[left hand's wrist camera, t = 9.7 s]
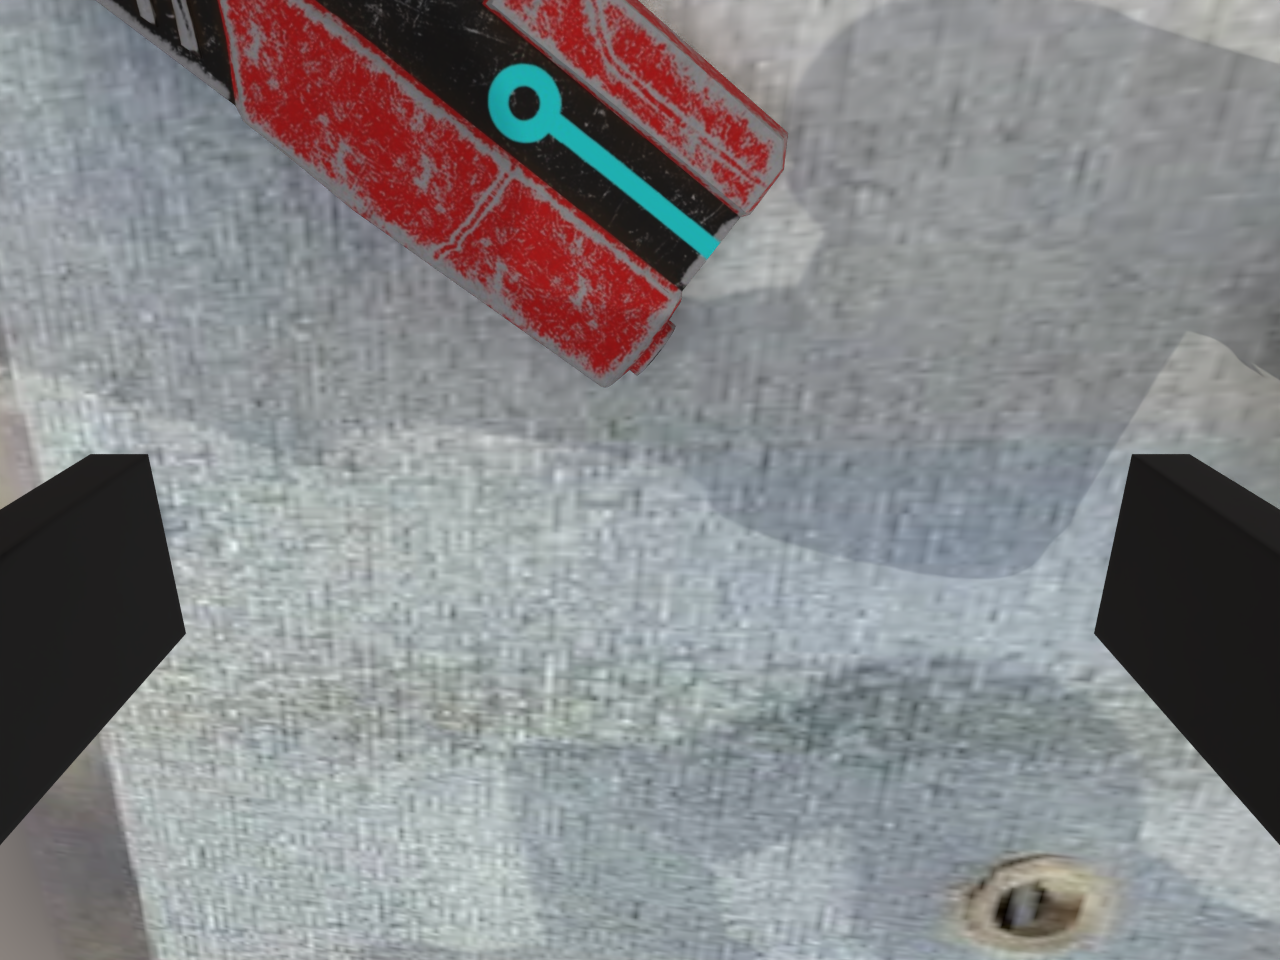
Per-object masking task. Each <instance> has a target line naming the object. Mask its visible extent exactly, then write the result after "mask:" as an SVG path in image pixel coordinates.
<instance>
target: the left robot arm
mask: <svg viewBox="0 0 1280 960" xmlns="http://www.w3.org/2000/svg"><path fill="white" fill-rule="evenodd" d="M185 634H186V632H185V627H184V622H183V618H182V613H181V608H180V603H179V599H178V594H177V589H176V584H175V580H174V575H173V570H172V566H171V561H170V556H169V551H168V547H167V542H166V537H165V533H164V528H163V523H162V518H161V514H160V509H159V504H158V499H157V495H156V490H155V485H154V481H153V476H152V471H151V466H150V462H149V457H148V454H90V455H88V456H87V457H85V458H84V459H82V460H80V461H79V462H77V463H75V464H74V465H72V466H71V467H69V468H67V469H66V470H64V471H62V472H61V473H59V474H58V475H56V476H54V477H53V478H51V479H49V480H48V481H46V482H45V483H43V484H41V485H40V486H38V487H36V488H35V489H33V490H32V491H30V492H28V493H27V494H25V495H23V496H22V497H20V498H19V499H17V500H15V501H14V502H12V503H10V504H9V505H7V506H6V507H4V508H2V509H1V510H0V845H1V843H2V842H3V841H4V840H5V839H6V838H7V837H8V835H9V834H10V833H11V832H12V831H13V830H14V829H15V828H16V826H17V825H18V824H19V823H20V822H21V821H22V820H23V818H24V817H25V816H26V815H27V814H28V813H29V812H30V810H31V809H32V808H33V807H34V806H35V805H36V804H37V802H38V801H39V800H40V799H41V798H42V797H43V796H44V795H45V793H46V792H47V791H48V790H49V789H50V788H51V787H52V785H53V784H54V783H55V782H56V781H57V780H58V779H59V777H60V776H61V775H62V774H63V773H64V772H65V771H66V769H67V768H68V767H69V766H70V765H71V764H72V763H73V761H74V760H75V759H76V758H77V757H78V756H79V755H80V754H81V752H82V751H83V750H84V749H85V748H86V747H87V746H88V744H89V743H90V742H91V741H92V740H93V739H94V738H95V736H96V735H97V734H98V733H99V732H100V731H101V730H102V728H103V727H104V726H105V725H106V724H107V723H108V722H109V720H110V719H111V718H112V717H113V716H114V715H115V714H116V713H117V711H118V710H119V709H120V708H121V707H122V706H123V705H124V703H125V702H126V701H127V700H128V699H129V698H130V697H131V695H132V694H133V693H134V692H135V691H136V690H137V689H138V687H139V686H140V685H141V684H142V683H143V682H144V681H145V679H146V678H147V677H148V676H149V675H150V674H151V673H152V672H153V670H154V669H155V668H156V667H157V666H158V665H159V664H160V662H161V661H162V660H163V659H164V658H165V657H166V656H167V654H168V653H169V652H170V651H171V650H172V649H173V648H174V646H175V645H176V644H177V643H178V642H179V641H180V640H181V639H182V637H183V636H184V635H185ZM1094 634H1095V635H1096V636H1097V637H1098V639H1099V640H1100V641H1101V642H1102V643H1103V644H1104V645H1105V646H1106V648H1107V649H1108V650H1109V651H1110V652H1111V653H1112V654H1113V656H1114V657H1115V658H1116V659H1117V660H1118V661H1119V662H1120V664H1121V665H1122V666H1123V667H1124V668H1125V669H1126V670H1127V672H1128V673H1129V674H1130V675H1131V676H1132V677H1133V678H1134V679H1135V681H1136V682H1137V683H1138V684H1139V685H1140V686H1141V687H1142V689H1143V690H1144V691H1145V692H1146V693H1147V694H1148V695H1149V697H1150V698H1151V699H1152V700H1153V701H1154V702H1155V703H1156V705H1157V706H1158V707H1159V708H1160V709H1161V710H1162V711H1163V713H1164V714H1165V715H1166V716H1167V717H1168V718H1169V719H1170V720H1171V722H1172V723H1173V724H1174V725H1175V726H1176V727H1177V728H1178V730H1179V731H1180V732H1181V733H1182V734H1183V735H1184V736H1185V738H1186V739H1187V740H1188V741H1189V742H1190V743H1191V744H1192V746H1193V747H1194V748H1195V749H1196V750H1197V751H1198V752H1199V754H1200V755H1201V756H1202V757H1203V758H1204V759H1205V760H1206V761H1207V763H1208V764H1209V765H1210V766H1211V767H1212V768H1213V769H1214V771H1215V772H1216V773H1217V774H1218V775H1219V776H1220V777H1221V779H1222V780H1223V781H1224V782H1225V783H1226V784H1227V785H1228V787H1229V788H1230V789H1231V790H1232V791H1233V792H1234V793H1235V795H1236V796H1237V797H1238V798H1239V799H1240V800H1241V801H1242V802H1243V804H1244V805H1245V806H1246V807H1247V808H1248V809H1249V810H1250V812H1251V813H1252V814H1253V815H1254V816H1255V817H1256V818H1257V820H1258V821H1259V822H1260V823H1261V824H1262V825H1263V826H1264V828H1265V829H1266V830H1267V831H1268V832H1269V833H1270V834H1271V836H1272V837H1273V838H1274V839H1275V840H1276V841H1277V842H1278V843H1279V845H1280V510H1279V509H1278V508H1276V507H1274V506H1273V505H1271V504H1270V503H1268V502H1266V501H1265V500H1263V499H1261V498H1260V497H1258V496H1257V495H1255V494H1253V493H1252V492H1250V491H1248V490H1247V489H1245V488H1244V487H1242V486H1240V485H1239V484H1237V483H1235V482H1234V481H1232V480H1231V479H1229V478H1227V477H1226V476H1224V475H1222V474H1221V473H1219V472H1218V471H1216V470H1214V469H1213V468H1211V467H1209V466H1208V465H1206V464H1205V463H1203V462H1201V461H1200V460H1198V459H1196V458H1195V457H1193V456H1192V455H1190V454H1132V457H1131V462H1130V466H1129V471H1128V476H1127V481H1126V485H1125V490H1124V495H1123V499H1122V504H1121V509H1120V514H1119V518H1118V523H1117V528H1116V533H1115V537H1114V542H1113V547H1112V551H1111V556H1110V561H1109V566H1108V570H1107V575H1106V580H1105V584H1104V589H1103V594H1102V599H1101V603H1100V608H1099V613H1098V617H1097V622H1096V627H1095V632H1094Z"/></svg>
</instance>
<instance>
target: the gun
mask: <svg viewBox="0 0 1280 960" xmlns="http://www.w3.org/2000/svg"><path fill="white" fill-rule="evenodd" d="M96 1H97V2H98V3H100V4H101V5H102V6H104V7H105V8H106V9H108V10H109V11H110V12H112V13H113V14H114V15H116V16H117V17H118V18H120V19H121V20H122V21H124V22H125V23H126V24H128V25H129V26H130V27H132V28H133V29H134V30H136V31H137V32H138V33H140V34H141V35H142V36H144V37H145V38H146V39H148V40H149V41H150V42H152V43H153V44H154V45H156V46H157V47H158V48H160V49H161V50H162V51H164V52H165V53H166V54H168V55H169V56H170V57H172V58H173V59H174V60H176V61H177V62H178V63H180V64H181V65H182V66H184V67H185V68H186V69H188V70H189V71H190V72H192V73H193V74H194V75H196V76H197V77H198V78H200V79H201V80H202V81H204V82H205V83H206V84H208V85H209V86H210V87H212V88H213V89H214V90H216V91H217V92H218V93H219V94H221V95H222V96H223V97H225V98H226V99H227V100H229V101H230V102H231V103H233V104H234V105H235V106H236V107H237V109H238V111H239V113H240V115H241V117H242V119H243V121H244V122H245V123H246V124H247V125H249V126H250V127H251V128H253V129H254V130H255V131H256V132H258V133H259V134H260V135H261V136H263V137H264V138H265V139H267V140H268V141H269V142H270V143H272V144H273V145H274V146H276V147H277V148H278V149H279V150H281V151H282V152H283V153H284V154H286V155H287V156H288V157H289V158H291V159H292V160H293V161H294V162H295V163H297V164H298V165H299V166H300V167H302V168H303V169H304V170H305V171H306V172H308V173H309V174H310V175H311V176H312V177H314V178H315V179H316V180H317V181H319V182H320V183H321V184H322V185H323V186H325V187H326V188H327V189H328V190H329V191H331V192H332V193H333V194H334V195H335V196H337V197H338V198H339V199H340V200H341V201H343V202H344V203H345V204H346V205H347V206H349V207H350V208H351V209H352V210H354V211H355V212H357V213H358V214H359V215H361V216H362V217H364V218H365V219H366V220H368V221H369V222H371V223H372V224H373V225H375V226H376V227H378V228H379V229H380V230H382V231H383V232H385V233H386V234H387V235H389V236H390V237H392V238H393V239H395V240H396V241H397V242H399V243H400V244H402V245H403V246H404V247H406V248H407V249H409V250H410V251H411V252H413V253H414V254H416V255H417V256H418V257H420V258H421V259H423V260H424V261H425V262H427V263H428V264H430V265H431V266H433V267H434V268H435V269H437V270H438V271H440V272H441V273H442V274H444V275H445V276H447V277H448V278H449V279H451V280H452V281H454V282H455V283H456V284H458V285H459V286H461V287H462V288H463V289H465V290H466V291H468V292H469V293H471V294H472V295H473V296H475V297H476V298H478V299H479V300H480V301H482V302H483V303H485V304H486V305H487V306H489V307H490V308H492V309H493V310H494V311H496V312H497V313H499V314H500V315H502V316H503V317H504V318H506V319H507V320H509V321H510V322H511V323H513V324H514V325H516V326H517V327H518V328H520V329H521V330H523V331H524V332H525V333H527V334H528V335H530V336H531V337H532V338H534V339H535V340H537V341H538V342H540V343H541V344H542V345H544V346H545V347H547V348H548V349H549V350H551V351H552V352H554V353H555V354H556V355H558V356H559V357H561V358H562V359H563V360H565V361H566V362H568V363H569V364H570V365H572V366H573V367H575V368H576V369H578V370H579V371H580V372H582V373H583V374H585V375H586V376H587V377H589V378H590V379H592V380H593V381H594V382H596V383H597V384H599V385H600V386H602V387H609V386H610V385H612V384H613V383H614V382H616V381H617V380H618V379H619V378H620V377H622V376H623V375H624V374H625V373H626V372H628V371H629V370H631V371H632V372H633V373H634V374H635V375H638V374H640V373H641V372H642V371H643V370H644V369H645V368H646V367H647V366H648V365H649V364H650V363H651V362H652V361H653V359H654V358H655V357H656V356H657V354H658V353H659V352H660V351H661V349H662V348H663V347H664V345H665V344H666V342H667V341H668V339H669V338H670V336H671V335H672V333H673V331H674V329H675V325H674V324H673V323H672V322H671V321H669V319H670V318H671V316H672V314H673V313H674V311H675V310H676V308H677V307H678V305H679V304H680V302H681V298H682V291H683V289H684V288H685V287H686V285H687V284H688V283H689V282H690V280H691V279H692V278H693V277H694V275H695V274H696V273H697V272H698V270H699V269H700V268H701V266H702V265H703V264H704V263H705V261H706V260H707V259H708V258H709V256H710V255H711V254H712V253H713V251H714V250H715V249H716V247H717V246H718V245H719V244H720V242H721V241H722V240H723V239H724V237H725V236H726V235H727V233H728V232H729V231H730V230H731V228H732V227H733V226H734V225H735V223H736V222H737V221H738V220H739V218H740V217H742V216H746V215H750V214H751V213H752V211H753V210H754V209H755V207H756V206H757V205H758V203H759V202H760V201H761V199H762V198H763V197H764V195H765V194H766V193H767V191H768V190H769V189H770V187H771V186H772V185H773V183H774V182H775V181H776V179H777V178H778V177H779V175H780V174H781V173H782V172H783V170H784V164H785V155H786V146H787V138H788V132H786V131H785V130H784V129H783V128H782V127H781V126H780V125H778V124H777V123H776V122H775V121H774V120H773V119H772V118H771V117H769V116H768V115H767V114H766V113H765V112H764V111H763V110H762V109H760V108H759V107H758V106H757V105H756V104H755V103H754V102H752V101H751V100H750V99H749V98H748V97H747V96H746V95H745V94H743V93H742V92H741V91H740V90H739V89H738V88H737V87H735V86H734V85H733V84H732V83H731V82H730V81H729V80H728V79H726V78H725V77H724V76H723V75H722V74H721V73H720V72H718V71H717V70H716V69H715V68H714V67H713V66H712V65H711V64H709V63H708V62H707V61H706V60H705V59H704V58H703V57H701V56H700V55H699V54H698V53H697V52H696V51H695V50H694V49H692V48H691V47H690V46H689V45H688V44H687V43H686V42H684V41H683V40H682V39H681V38H680V37H679V36H678V35H677V34H675V33H674V32H673V31H672V30H671V29H670V28H669V27H667V26H666V25H665V24H664V23H663V22H662V21H661V20H660V19H658V18H657V17H656V16H655V15H654V14H653V13H652V12H650V11H649V10H648V9H647V8H646V7H645V6H644V5H643V4H641V3H640V2H639V1H638V0H96Z"/></svg>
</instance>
